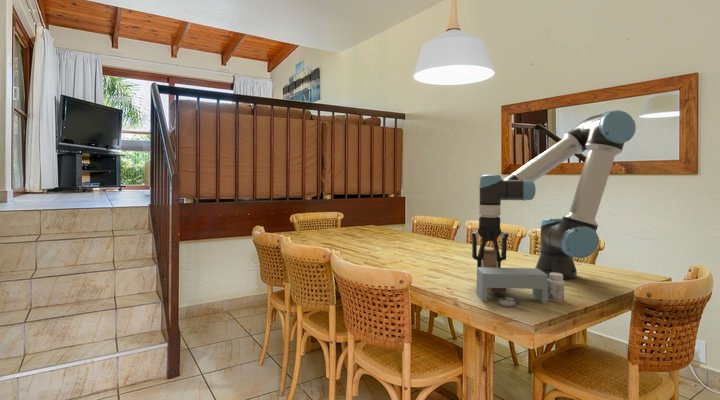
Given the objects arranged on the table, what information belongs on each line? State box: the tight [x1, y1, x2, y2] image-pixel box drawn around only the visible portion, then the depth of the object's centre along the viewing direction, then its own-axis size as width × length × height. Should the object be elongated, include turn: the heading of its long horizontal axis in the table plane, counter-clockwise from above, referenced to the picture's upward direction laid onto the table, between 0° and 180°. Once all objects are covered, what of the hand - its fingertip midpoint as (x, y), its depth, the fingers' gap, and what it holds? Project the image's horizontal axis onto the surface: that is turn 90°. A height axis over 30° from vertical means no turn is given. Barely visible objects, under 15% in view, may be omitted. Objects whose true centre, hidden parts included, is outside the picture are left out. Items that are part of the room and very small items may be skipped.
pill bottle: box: [547, 273, 565, 302], centre depth 125 cm, size 5×5×8 cm
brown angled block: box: [482, 247, 507, 294], centre depth 138 cm, size 17×5×12 cm, turn 174°
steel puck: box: [498, 296, 517, 309], centre depth 120 cm, size 5×5×2 cm
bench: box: [476, 266, 549, 304], centre depth 126 cm, size 20×9×9 cm, turn 84°
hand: (488, 277), depth 145 cm, fingers closed on brown angled block, 4 cm apart
